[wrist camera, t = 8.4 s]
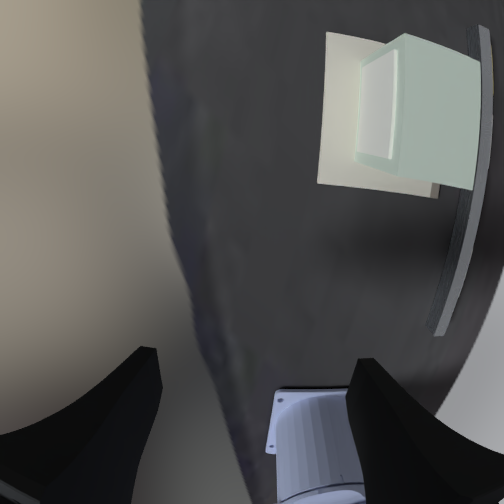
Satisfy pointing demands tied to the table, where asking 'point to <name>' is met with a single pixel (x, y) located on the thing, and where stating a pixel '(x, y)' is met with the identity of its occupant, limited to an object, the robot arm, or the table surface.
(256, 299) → the table surface
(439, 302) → the rail
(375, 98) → the sage carton
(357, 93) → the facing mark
